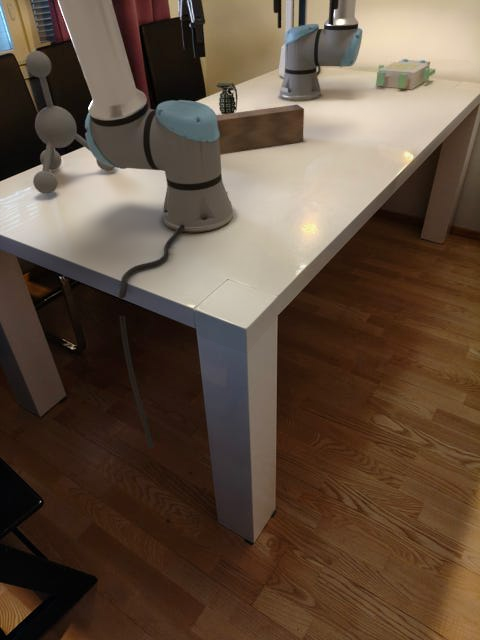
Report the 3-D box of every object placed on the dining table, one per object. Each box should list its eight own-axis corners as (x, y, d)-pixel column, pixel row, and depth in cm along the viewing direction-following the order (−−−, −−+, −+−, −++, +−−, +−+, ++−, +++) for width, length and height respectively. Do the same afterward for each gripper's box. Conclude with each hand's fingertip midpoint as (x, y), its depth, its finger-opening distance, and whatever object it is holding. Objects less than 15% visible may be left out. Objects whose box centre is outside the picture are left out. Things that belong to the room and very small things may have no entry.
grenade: (217, 117, 168) (214, 86, 162) (221, 112, 172) (219, 82, 166) (235, 117, 166) (233, 86, 160) (239, 113, 171) (238, 82, 165)
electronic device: (284, 79, 208) (284, -5, 189) (278, 76, 213) (278, -6, 195) (311, 76, 210) (314, -7, 191) (304, 73, 216) (307, -8, 197)
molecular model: (127, 184, 124) (101, 51, 106) (38, 200, 118) (-6, 64, 100) (112, 155, 142) (87, 38, 123) (33, 169, 136) (-5, 48, 118)
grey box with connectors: (392, 57, 203) (441, 60, 193) (390, 73, 207) (438, 78, 197) (367, 69, 187) (418, 73, 177) (365, 87, 191) (415, 92, 181)
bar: (191, 158, 138) (188, 124, 132) (188, 152, 142) (184, 119, 136) (303, 141, 144) (304, 108, 138) (296, 136, 148) (297, 104, 142)
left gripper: (213, -53, 103) (220, 59, 116) (189, -52, 122) (198, 44, 135) (178, -51, 101) (189, 62, 114) (160, -50, 120) (171, 47, 133)
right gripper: (357, -81, 118) (349, 21, 131) (254, -74, 119) (257, 26, 132) (364, -82, 112) (355, 25, 126) (256, -75, 113) (258, 30, 126)
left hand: (194, 53), depth 125 cm, fingers open, 13 cm apart
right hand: (305, 26), depth 129 cm, fingers open, 13 cm apart
